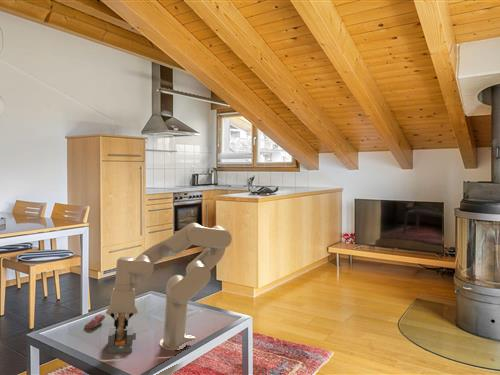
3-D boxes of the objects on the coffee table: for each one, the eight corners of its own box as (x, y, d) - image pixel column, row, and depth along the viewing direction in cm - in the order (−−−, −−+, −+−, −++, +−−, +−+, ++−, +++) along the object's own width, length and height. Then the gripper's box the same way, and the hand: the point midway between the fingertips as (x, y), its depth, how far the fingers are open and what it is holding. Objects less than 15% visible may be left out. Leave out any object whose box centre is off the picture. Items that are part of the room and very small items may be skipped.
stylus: (123, 338, 172) (126, 307, 171) (123, 341, 169) (125, 309, 168) (116, 338, 171) (118, 307, 170) (115, 341, 168) (118, 309, 167)
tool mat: (135, 334, 185) (135, 332, 185) (135, 340, 178) (135, 339, 178) (120, 334, 183) (120, 333, 183) (119, 341, 176) (119, 340, 176)
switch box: (132, 342, 176) (133, 327, 176) (131, 353, 167) (132, 337, 166) (108, 343, 173) (109, 328, 173) (106, 354, 164) (107, 338, 163)
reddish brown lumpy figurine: (90, 334, 184) (97, 322, 183) (82, 328, 185) (89, 316, 184) (102, 326, 194) (108, 314, 193) (94, 320, 195) (101, 309, 194)
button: (125, 343, 173) (125, 337, 172) (125, 347, 168) (125, 342, 168) (115, 343, 171) (115, 338, 171) (114, 348, 167) (115, 342, 167)
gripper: (143, 283, 174) (140, 324, 175) (104, 283, 170) (101, 324, 171) (143, 289, 167) (140, 331, 168) (103, 289, 163) (99, 332, 164)
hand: (120, 327), depth 169 cm, fingers closed on stylus, 3 cm apart
